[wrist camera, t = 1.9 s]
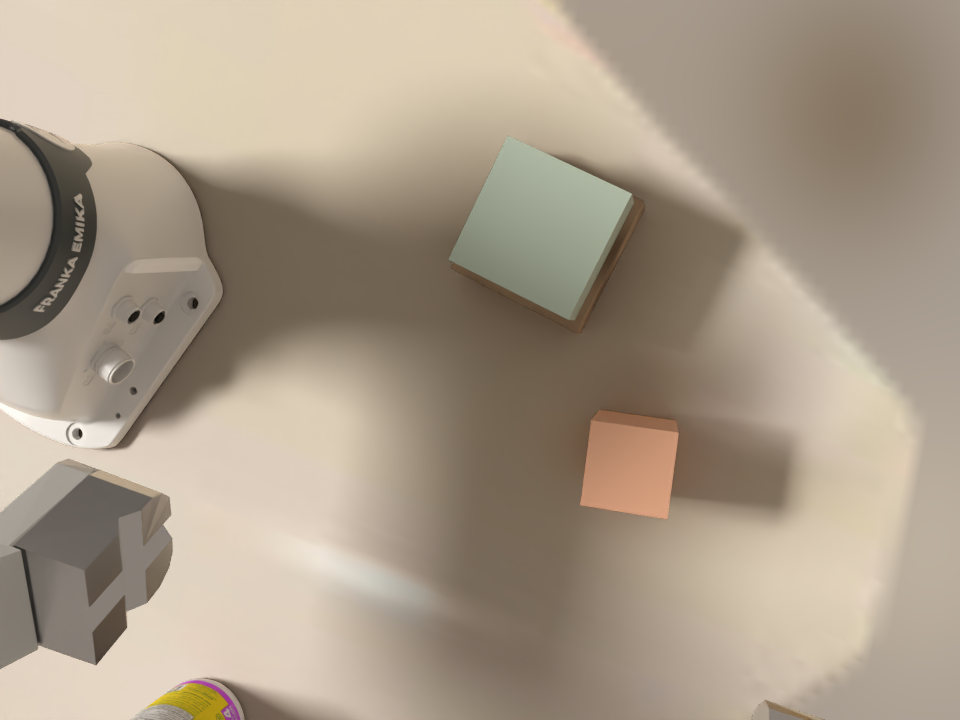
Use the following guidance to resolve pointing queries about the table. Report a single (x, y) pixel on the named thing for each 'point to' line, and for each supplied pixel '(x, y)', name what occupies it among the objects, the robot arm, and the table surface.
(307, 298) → the table surface
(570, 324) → the tower base
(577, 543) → the table surface
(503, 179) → the tower top
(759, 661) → the table surface
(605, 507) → the terracotta block
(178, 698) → the supplement bottle
